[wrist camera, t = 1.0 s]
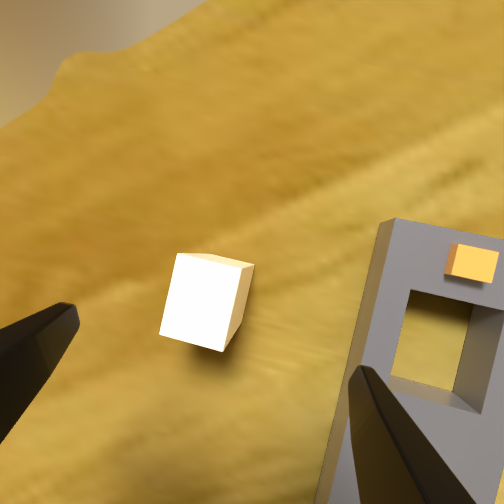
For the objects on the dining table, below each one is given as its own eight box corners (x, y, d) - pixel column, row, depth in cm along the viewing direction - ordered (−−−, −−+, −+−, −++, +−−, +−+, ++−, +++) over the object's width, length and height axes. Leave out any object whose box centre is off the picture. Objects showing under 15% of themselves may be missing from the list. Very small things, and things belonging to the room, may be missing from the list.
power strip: (435, 582, 21) (512, 749, 14) (306, 536, 22) (315, 669, 15) (516, 251, 20) (639, 249, 13) (380, 223, 21) (426, 207, 14)
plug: (241, 322, 23) (222, 352, 16) (196, 310, 23) (159, 334, 16) (254, 264, 23) (241, 268, 16) (209, 253, 23) (177, 253, 16)
